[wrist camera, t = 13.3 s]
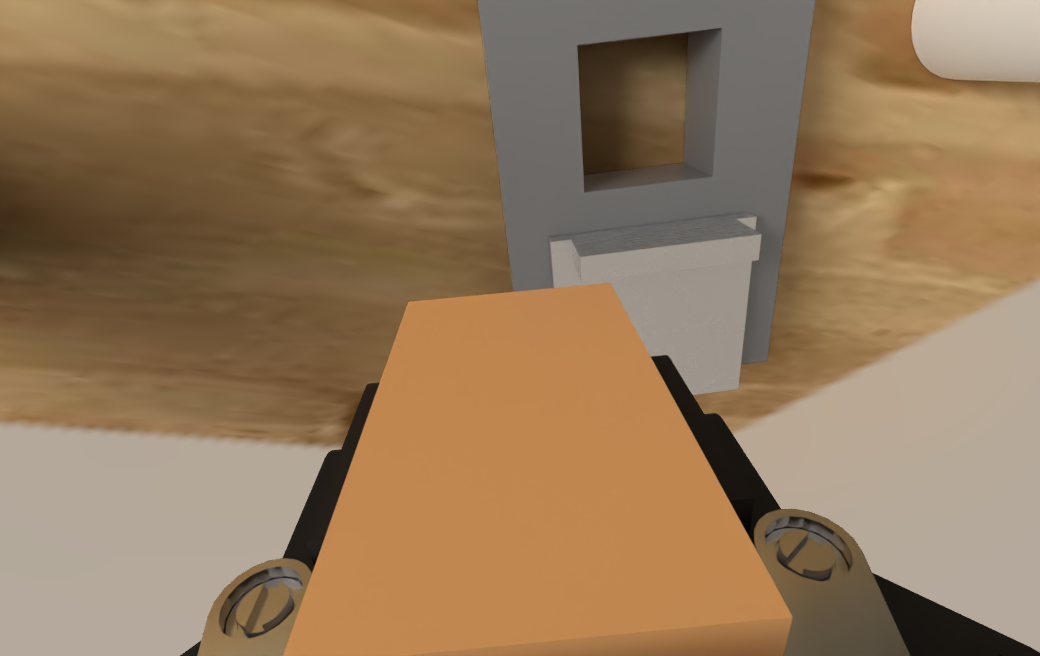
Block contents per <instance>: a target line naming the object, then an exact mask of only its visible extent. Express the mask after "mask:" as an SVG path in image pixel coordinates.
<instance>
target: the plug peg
mask: <svg viewBox="0 0 1040 656" xmlns="http://www.w3.org/2000/svg"><path fill="white" fill-rule="evenodd" d="M792 618H793V617H792V615H791V613H790V611H789V609H788V607H787V606H786V604H785V602H784V600H783V598H782V596H781V595H780V593H779V591H778V589H777V587H776V585H775V584H774V582H773V580H772V578H771V576H770V574H769V573H768V571H767V569H766V567H765V565H764V563H763V562H762V560H761V558H760V556H759V554H758V553H757V551H756V549H755V547H754V545H753V543H752V542H751V540H750V538H749V536H748V534H747V532H746V531H745V529H744V527H743V525H742V523H741V521H740V520H739V518H738V516H737V514H736V512H735V510H734V509H733V507H732V505H731V503H730V501H729V499H728V498H727V496H726V494H725V492H724V490H723V488H722V487H721V485H720V483H719V481H718V479H717V477H716V476H715V474H714V472H713V470H712V468H711V466H710V465H709V463H708V461H707V459H706V457H705V455H704V454H703V452H702V450H701V448H700V446H699V445H698V443H697V441H696V439H695V437H694V435H693V434H692V432H691V430H690V428H689V426H688V424H687V423H686V421H685V419H684V417H683V415H682V413H681V412H680V410H679V408H678V406H677V404H676V402H675V401H674V399H673V397H672V395H671V393H670V391H669V390H668V388H667V386H666V384H665V382H664V380H663V379H662V377H661V375H660V373H659V371H658V369H657V368H656V366H655V364H654V362H653V360H652V358H651V357H650V355H649V353H648V351H647V349H646V347H645V346H644V344H643V342H642V340H641V338H640V336H639V335H638V333H637V331H636V329H635V327H634V326H633V324H632V322H631V320H630V318H629V316H628V315H627V313H626V311H625V309H624V307H623V305H622V304H621V302H620V300H619V298H618V296H617V294H616V293H615V291H614V289H613V287H612V285H611V283H601V284H590V285H580V286H569V287H559V288H548V289H538V290H527V291H517V292H506V293H496V294H485V295H475V296H464V297H454V298H443V299H433V300H422V301H412V302H408V304H407V307H406V310H405V313H404V315H403V318H402V321H401V324H400V327H399V330H398V332H397V335H396V338H395V341H394V344H393V346H392V349H391V352H390V355H389V358H388V361H387V363H386V366H385V369H384V372H383V375H382V378H381V380H380V383H379V386H378V389H377V392H376V394H375V397H374V400H373V403H372V406H371V409H370V411H369V414H368V417H367V420H366V423H365V426H364V428H363V431H362V434H361V437H360V440H359V442H358V445H357V448H356V451H355V454H354V457H353V459H352V462H351V465H350V468H349V471H348V474H347V476H346V479H345V482H344V485H343V488H342V490H341V493H340V496H339V499H338V502H337V505H336V507H335V510H334V513H333V516H332V519H331V522H330V524H329V527H328V530H327V533H326V536H325V538H324V541H323V544H322V547H321V550H320V553H319V555H318V558H317V561H316V564H315V567H314V570H313V572H312V575H311V578H310V581H309V584H308V586H307V589H306V592H305V595H304V598H303V601H302V603H301V606H300V609H299V612H298V615H297V617H296V620H295V623H294V626H293V629H292V632H291V634H290V637H289V640H288V643H287V646H286V649H285V651H284V654H283V656H783V654H784V650H785V646H786V642H787V638H788V634H789V630H790V626H791V622H792Z"/></svg>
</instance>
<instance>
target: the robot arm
mask: <svg viewBox="0 0 1040 656" xmlns="http://www.w3.org/2000/svg"><path fill="white" fill-rule="evenodd" d="M650 357H651V358H652V360H653V362H654V364H655V366H656V368H657V369H658V371H659V373H660V375H661V377H662V379H663V380H664V382H665V384H666V386H667V388H668V390H669V391H670V393H671V395H672V397H673V399H674V401H675V402H676V404H677V406H678V408H679V410H680V412H681V413H682V415H683V417H684V419H685V421H686V423H687V424H688V426H689V428H690V430H691V432H692V434H693V435H694V437H695V439H696V441H697V443H698V445H699V446H700V448H701V450H702V452H703V454H704V455H705V457H706V459H707V461H708V463H709V465H710V466H711V468H712V470H713V472H714V474H715V476H716V477H717V479H718V481H719V483H720V485H721V487H722V488H723V490H724V492H725V494H726V496H727V498H728V499H729V501H730V503H731V505H732V507H733V509H734V510H735V512H736V514H737V516H738V518H739V520H740V521H741V523H742V525H743V527H744V529H745V531H746V532H747V534H748V536H749V538H750V540H751V542H752V543H753V545H754V547H755V549H756V551H757V553H758V554H759V556H760V558H761V560H762V562H763V563H764V565H765V567H766V569H767V571H768V573H769V574H770V576H771V578H772V580H773V582H774V584H775V585H776V587H777V589H778V591H779V593H780V595H781V596H782V598H783V600H784V602H785V604H786V606H787V607H788V609H789V611H790V613H791V615H792V617H793V618H792V622H791V626H790V630H789V634H788V638H787V642H786V646H785V650H784V654H783V656H1040V653H1039V652H1038V651H1036V650H1034V649H1032V648H1031V647H1029V646H1026V645H1024V644H1022V643H1020V642H1018V641H1016V640H1014V639H1011V638H1009V637H1007V636H1005V635H1003V634H1001V633H999V632H997V631H995V630H992V629H990V628H988V627H986V626H984V625H982V624H980V623H978V622H975V621H973V620H971V619H969V618H967V617H965V616H963V615H961V614H958V613H956V612H954V611H952V610H950V609H948V608H945V607H944V606H942V605H939V604H937V603H935V602H933V601H931V600H929V599H927V598H924V597H922V596H920V595H918V594H916V593H914V592H912V591H910V590H908V589H905V588H903V587H901V586H899V585H897V584H894V583H893V582H891V581H889V580H886V579H884V578H882V577H880V576H878V575H876V574H874V573H872V571H871V569H870V567H869V565H868V562H867V560H866V558H865V556H864V554H863V552H862V550H861V549H860V547H859V546H858V544H857V543H856V541H855V540H854V538H853V537H852V536H850V535H849V534H848V533H847V532H846V531H845V530H844V529H843V528H842V527H840V526H839V525H837V524H835V523H833V522H832V521H830V520H829V519H827V518H825V517H822V516H819V515H817V514H815V513H812V512H809V511H803V510H798V509H781V508H780V507H779V505H778V503H777V502H776V500H775V499H774V497H773V496H772V494H771V493H770V491H769V490H768V488H767V487H766V485H765V484H764V482H763V480H762V479H761V477H760V476H759V474H758V473H757V471H756V470H755V468H754V467H753V465H752V464H751V462H750V461H749V459H748V457H747V456H746V454H745V453H744V452H743V450H742V448H741V447H740V445H739V444H738V442H737V441H736V439H735V437H734V436H733V434H732V433H731V431H730V430H729V428H728V427H727V425H726V424H725V422H724V421H723V419H722V418H721V417H720V416H719V415H718V414H716V413H712V414H704V413H703V411H702V410H701V408H700V406H699V405H698V403H697V401H696V400H695V398H694V397H693V395H692V393H691V392H690V390H689V388H688V387H687V385H686V383H685V382H684V380H683V378H682V377H681V375H680V374H679V372H678V370H677V369H676V367H675V365H674V364H673V362H672V360H671V359H670V357H669V356H668V355H661V356H650ZM378 386H379V383H371V384H367V386H366V388H365V391H364V393H363V396H362V398H361V401H360V403H359V406H358V408H357V411H356V414H355V416H354V419H353V421H352V424H351V426H350V429H349V431H348V434H347V437H346V439H345V442H344V444H343V447H342V449H341V450H332V451H330V452H329V453H328V454H327V456H326V457H325V459H324V462H323V464H322V467H321V469H320V471H319V473H318V476H317V478H316V481H315V483H314V485H313V488H312V490H311V492H310V495H309V497H308V499H307V502H306V504H305V506H304V509H303V511H302V514H301V516H300V518H299V521H298V523H297V525H296V528H295V530H294V532H293V535H292V537H291V540H290V542H289V544H288V547H287V549H286V551H285V554H284V556H283V558H281V559H275V560H269V561H266V562H264V563H261V564H259V565H256V566H254V567H252V568H250V569H249V570H247V571H245V572H244V573H242V574H241V575H239V576H237V577H236V578H235V579H234V580H233V581H232V582H231V583H230V584H229V585H227V586H226V587H225V588H224V590H223V591H222V592H221V594H220V595H219V596H218V598H217V599H216V600H215V601H214V603H213V606H212V608H211V610H210V613H209V615H208V617H207V621H206V625H205V629H204V633H203V637H202V640H201V641H200V642H198V643H197V644H196V645H194V646H193V647H192V648H190V649H189V650H188V651H186V652H185V653H183V654H182V655H181V656H283V654H284V651H285V649H286V646H287V643H288V640H289V637H290V634H291V632H292V629H293V626H294V623H295V620H296V617H297V615H298V612H299V609H300V606H301V603H302V601H303V598H304V595H305V592H306V589H307V586H308V584H309V581H310V578H311V575H312V572H313V570H314V567H315V564H316V561H317V558H318V555H319V553H320V550H321V547H322V544H323V541H324V538H325V536H326V533H327V530H328V527H329V524H330V522H331V519H332V516H333V513H334V510H335V507H336V505H337V502H338V499H339V496H340V493H341V490H342V488H343V485H344V482H345V479H346V476H347V474H348V471H349V468H350V465H351V462H352V459H353V457H354V454H355V451H356V448H357V445H358V442H359V440H360V437H361V434H362V431H363V428H364V426H365V423H366V420H367V417H368V414H369V411H370V409H371V406H372V403H373V400H374V397H375V394H376V392H377V389H378Z"/></svg>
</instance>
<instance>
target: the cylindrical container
mask: <svg viewBox="0 0 1040 656" xmlns="http://www.w3.org/2000/svg"><path fill="white" fill-rule="evenodd" d="M911 31H912V42H913V45H914V49H915V52H916V54H917V56H918V58H919V60H920V61H921V63H922V64H923V65H924V66H925V67H926V68H927V69H928V70H929V71H930V72H931V73H933V74H935V75H937V76H939V77H941V78H947V79H952V80H979V81H1012V82H1040V0H916V1H915V5H914V9H913V13H912V24H911Z"/></svg>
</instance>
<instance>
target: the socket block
mask: <svg viewBox="0 0 1040 656" xmlns="http://www.w3.org/2000/svg"><path fill="white" fill-rule="evenodd" d="M477 2H478V10H479V18H480V26H481V35H482V43H483V51H484V59H485V67H486V76H487V84H488V92H489V100H490V108H491V117H492V125H493V133H494V141H495V150H496V158H497V166H498V174H499V182H500V191H501V199H502V207H503V215H504V223H505V232H506V240H507V248H508V256H509V264H510V273H511V281H512V289H513V292H517V291H527V290H538V289H548V288H552V276H551V264H550V252H549V240H548V237H555V236H563V235H571V234H579V233H587V232H595V231H603V230H611V229H619V228H627V227H635V226H643V225H651V224H659V223H667V222H675V221H683V220H691V219H699V218H707V217H715V216H723V215H731V214H739V213H747V212H749V213H751V214H753V215H755V216H757V218H756V228H755V231H757V232H759V233H760V234H762V235H761V244H760V253H759V260H756V261H752V265H751V274H750V284H749V293H748V303H747V312H746V321H745V331H744V340H743V349H742V359H741V364H748V363H756V362H764V361H767V358H768V350H769V343H770V335H771V328H772V320H773V313H774V305H775V298H776V290H777V283H778V276H779V268H780V261H781V253H782V246H783V238H784V231H785V223H786V216H787V208H788V201H789V193H790V186H791V178H792V171H793V163H794V156H795V148H796V141H797V133H798V126H799V118H800V111H801V103H802V96H803V88H804V81H805V73H806V66H807V58H808V51H809V43H810V36H811V29H812V21H813V14H814V6H815V0H477ZM683 33H688V52H687V78H686V104H685V129H684V155H683V163H677V164H669V165H660V166H652V167H644V168H636V169H628V170H620V171H612V172H604V173H595V174H587V175H583V155H582V134H581V113H580V92H579V71H578V50H577V46H582V45H591V44H599V43H608V42H616V41H624V40H633V39H641V38H650V37H658V36H667V35H675V34H683Z"/></svg>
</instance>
